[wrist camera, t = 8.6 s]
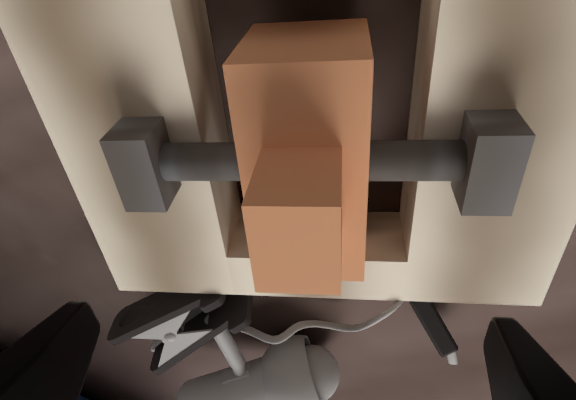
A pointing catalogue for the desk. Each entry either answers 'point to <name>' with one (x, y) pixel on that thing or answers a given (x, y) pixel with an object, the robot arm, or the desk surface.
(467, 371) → the desk surface
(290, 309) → the desk surface
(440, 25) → the beige square frame
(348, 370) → the desk surface
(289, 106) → the wooden cross piece
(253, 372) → the clip-on lamp
